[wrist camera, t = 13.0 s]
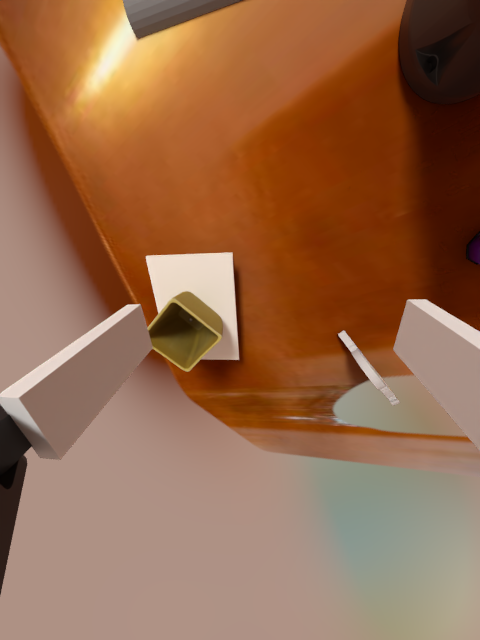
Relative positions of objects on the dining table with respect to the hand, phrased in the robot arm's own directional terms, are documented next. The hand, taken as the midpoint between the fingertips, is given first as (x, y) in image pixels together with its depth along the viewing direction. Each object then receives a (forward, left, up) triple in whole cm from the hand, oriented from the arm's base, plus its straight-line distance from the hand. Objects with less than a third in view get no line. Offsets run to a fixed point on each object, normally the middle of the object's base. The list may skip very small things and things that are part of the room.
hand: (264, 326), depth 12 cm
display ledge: (+12, +10, -29) cm, 33 cm away
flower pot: (+12, +10, -25) cm, 30 cm away
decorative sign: (-20, +23, -30) cm, 43 cm away
